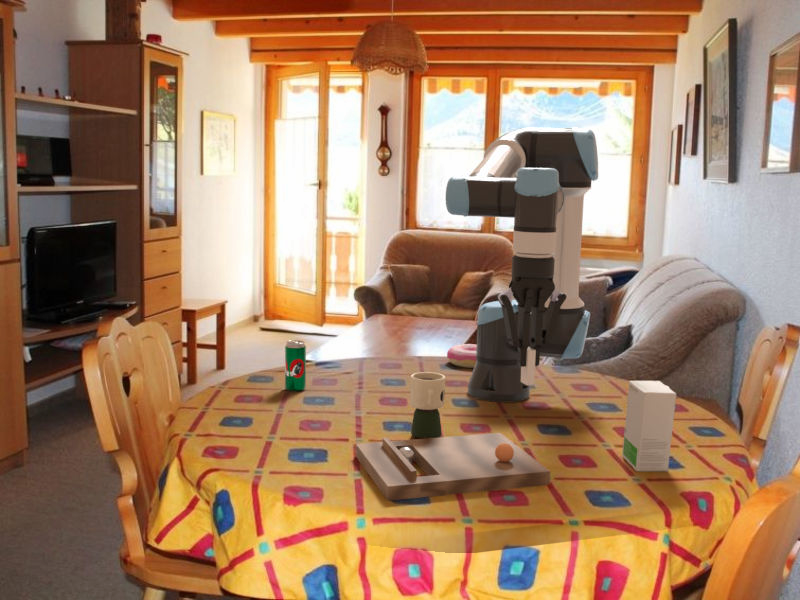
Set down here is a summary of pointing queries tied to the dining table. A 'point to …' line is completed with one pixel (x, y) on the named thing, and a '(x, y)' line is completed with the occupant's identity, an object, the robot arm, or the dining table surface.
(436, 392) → the character mug
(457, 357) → the donut
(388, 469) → the walnut board
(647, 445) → the skincare box
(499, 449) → the rust ball
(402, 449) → the steel ball
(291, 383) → the soda can
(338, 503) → the dining table surface
